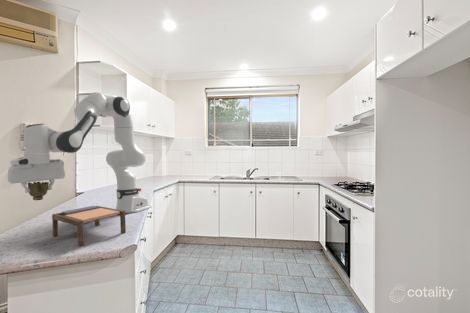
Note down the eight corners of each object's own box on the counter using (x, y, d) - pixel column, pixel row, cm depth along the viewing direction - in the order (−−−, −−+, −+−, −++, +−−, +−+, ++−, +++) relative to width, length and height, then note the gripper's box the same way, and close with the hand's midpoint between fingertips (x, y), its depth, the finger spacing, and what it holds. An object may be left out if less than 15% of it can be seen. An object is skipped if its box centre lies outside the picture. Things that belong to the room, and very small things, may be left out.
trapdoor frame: (97, 225, 129) (97, 205, 128) (125, 232, 116) (125, 210, 115) (52, 236, 112) (52, 214, 112) (79, 246, 99) (78, 221, 99)
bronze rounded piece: (36, 201, 106) (36, 182, 107) (22, 200, 108) (23, 182, 108) (52, 199, 114) (53, 181, 114) (39, 198, 115) (40, 181, 115)
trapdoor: (95, 210, 126) (95, 205, 126) (119, 215, 114) (119, 209, 114) (59, 217, 112) (59, 212, 112) (83, 224, 101) (82, 218, 101)
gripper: (60, 159, 121) (62, 187, 122) (5, 161, 104) (7, 194, 104) (66, 159, 118) (68, 188, 118) (10, 161, 101) (12, 195, 101)
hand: (38, 191), depth 111 cm, fingers closed on bronze rounded piece, 6 cm apart
